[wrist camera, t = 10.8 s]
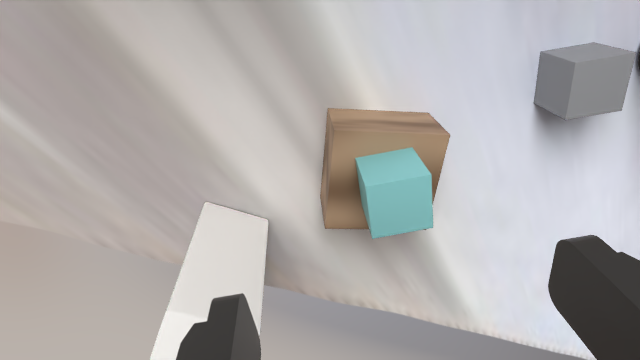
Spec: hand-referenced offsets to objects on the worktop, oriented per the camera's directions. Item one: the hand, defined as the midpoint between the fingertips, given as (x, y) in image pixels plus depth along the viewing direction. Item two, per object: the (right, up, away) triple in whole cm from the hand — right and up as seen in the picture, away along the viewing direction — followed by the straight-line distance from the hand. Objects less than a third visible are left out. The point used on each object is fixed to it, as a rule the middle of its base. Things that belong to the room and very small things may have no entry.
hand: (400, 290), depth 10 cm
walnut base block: (+3, +5, +30) cm, 30 cm away
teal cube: (+4, +3, +24) cm, 25 cm away
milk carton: (-12, -3, +33) cm, 35 cm away
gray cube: (+21, +13, +27) cm, 37 cm away
